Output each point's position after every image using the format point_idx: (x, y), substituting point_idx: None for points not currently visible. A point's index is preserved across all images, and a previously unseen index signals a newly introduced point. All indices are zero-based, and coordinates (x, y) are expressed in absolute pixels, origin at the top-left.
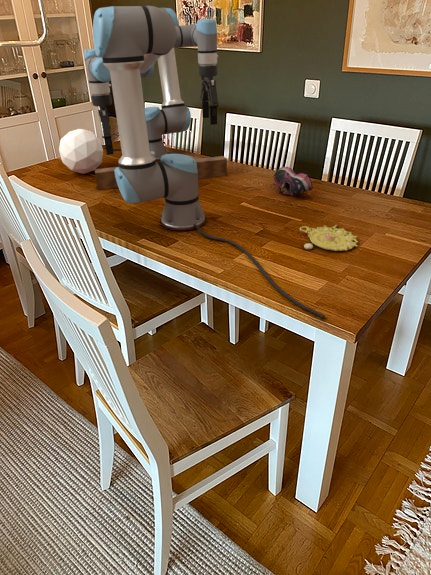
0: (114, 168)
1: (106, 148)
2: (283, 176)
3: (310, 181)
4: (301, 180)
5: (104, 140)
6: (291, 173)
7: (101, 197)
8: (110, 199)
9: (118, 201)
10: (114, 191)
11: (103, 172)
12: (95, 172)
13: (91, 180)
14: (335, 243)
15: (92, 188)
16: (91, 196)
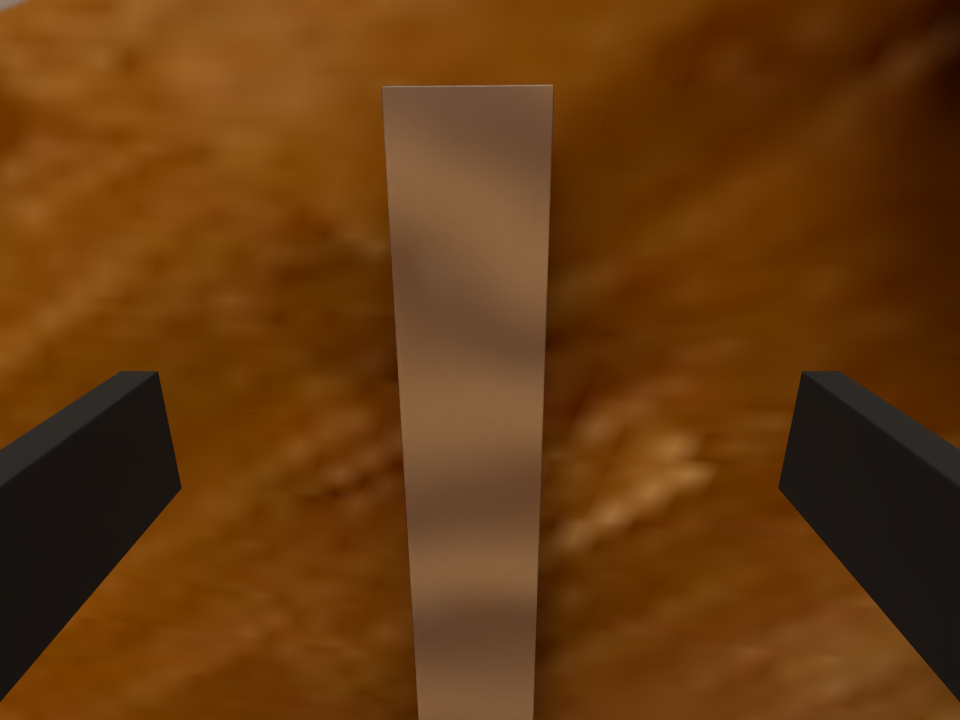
0: (491, 346)
1: (37, 442)
2: None
3: None
4: None
5: (873, 424)
6: None
7: (181, 126)
8: (115, 211)
9: (57, 278)
10: (323, 259)
11: (388, 202)
12: (395, 90)
13: (750, 29)
14: None
15: (475, 36)
16: (227, 18)
